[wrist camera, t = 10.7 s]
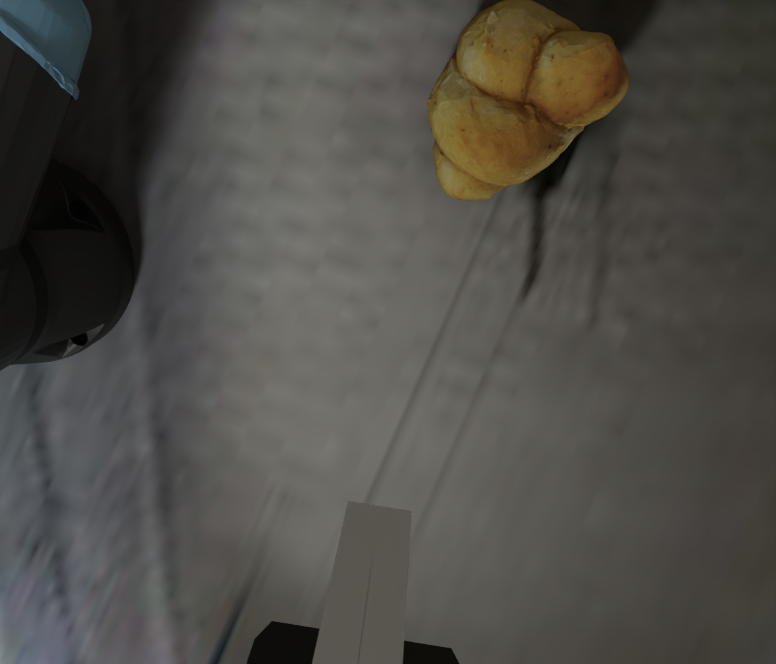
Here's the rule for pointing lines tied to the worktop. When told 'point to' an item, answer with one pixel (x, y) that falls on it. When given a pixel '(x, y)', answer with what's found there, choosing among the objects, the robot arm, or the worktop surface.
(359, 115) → the worktop surface
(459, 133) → the bread roll
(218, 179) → the worktop surface
